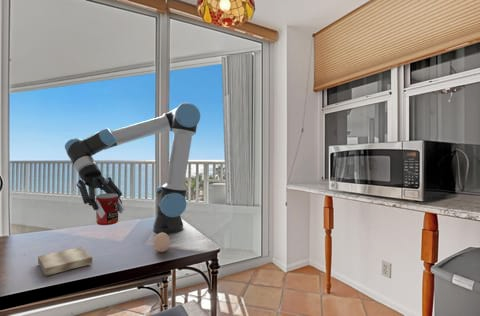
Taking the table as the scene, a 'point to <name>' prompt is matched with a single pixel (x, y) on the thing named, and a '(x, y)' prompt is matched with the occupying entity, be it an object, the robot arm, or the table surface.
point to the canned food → (108, 209)
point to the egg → (161, 242)
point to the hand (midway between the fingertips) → (112, 213)
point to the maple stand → (64, 260)
